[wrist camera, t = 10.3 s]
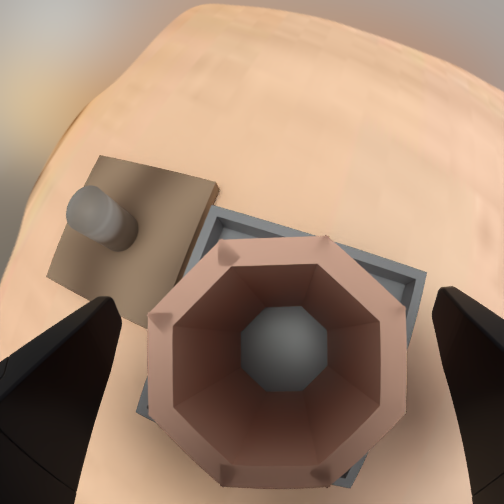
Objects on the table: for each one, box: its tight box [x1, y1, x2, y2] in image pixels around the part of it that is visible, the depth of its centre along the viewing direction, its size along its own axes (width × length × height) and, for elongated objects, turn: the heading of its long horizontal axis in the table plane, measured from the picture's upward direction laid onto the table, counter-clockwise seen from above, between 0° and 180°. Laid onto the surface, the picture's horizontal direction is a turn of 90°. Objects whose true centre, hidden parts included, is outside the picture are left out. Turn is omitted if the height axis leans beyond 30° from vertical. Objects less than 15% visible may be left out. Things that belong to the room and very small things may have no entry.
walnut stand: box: [46, 155, 219, 329], centre depth 17 cm, size 9×9×5 cm
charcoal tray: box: [136, 205, 427, 488], centre depth 15 cm, size 11×11×2 cm
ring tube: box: [147, 235, 407, 489], centre depth 11 cm, size 7×6×10 cm
